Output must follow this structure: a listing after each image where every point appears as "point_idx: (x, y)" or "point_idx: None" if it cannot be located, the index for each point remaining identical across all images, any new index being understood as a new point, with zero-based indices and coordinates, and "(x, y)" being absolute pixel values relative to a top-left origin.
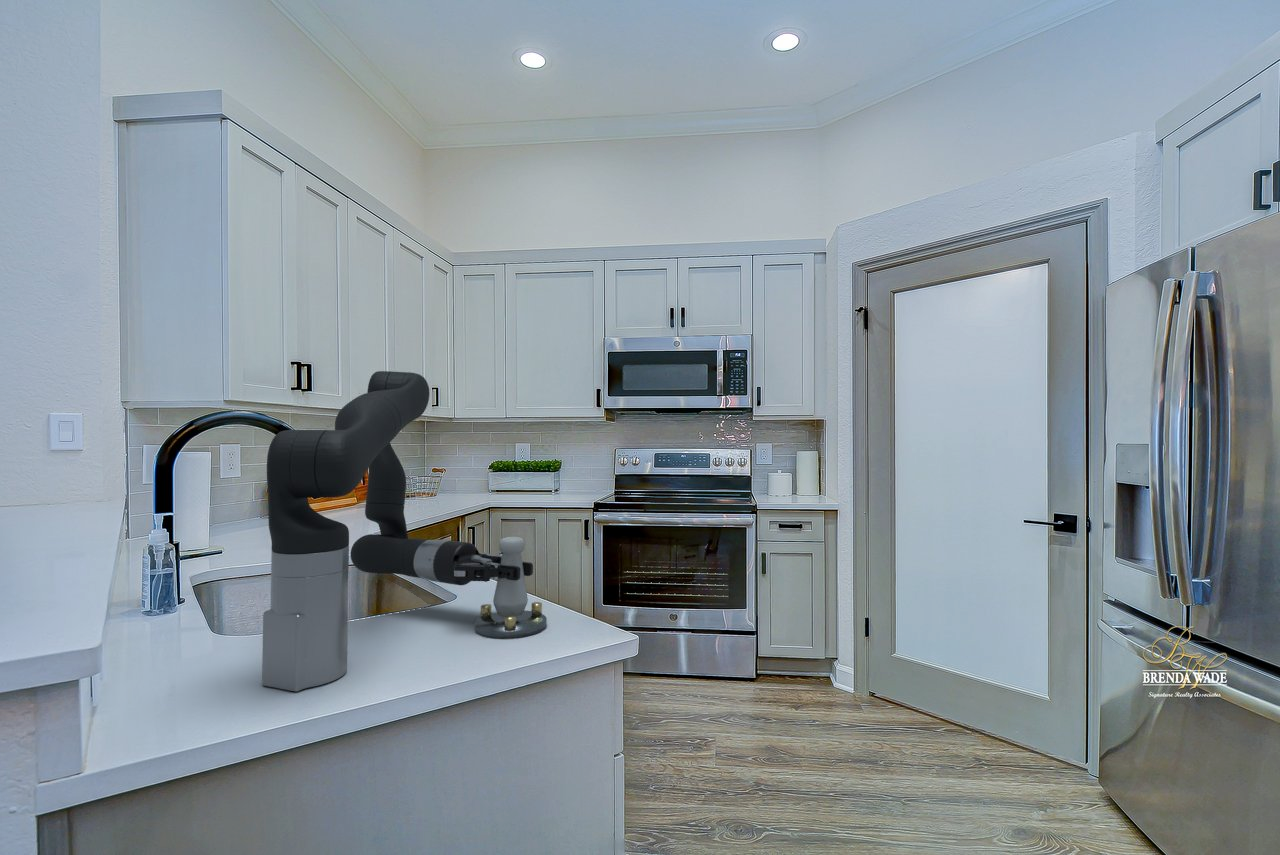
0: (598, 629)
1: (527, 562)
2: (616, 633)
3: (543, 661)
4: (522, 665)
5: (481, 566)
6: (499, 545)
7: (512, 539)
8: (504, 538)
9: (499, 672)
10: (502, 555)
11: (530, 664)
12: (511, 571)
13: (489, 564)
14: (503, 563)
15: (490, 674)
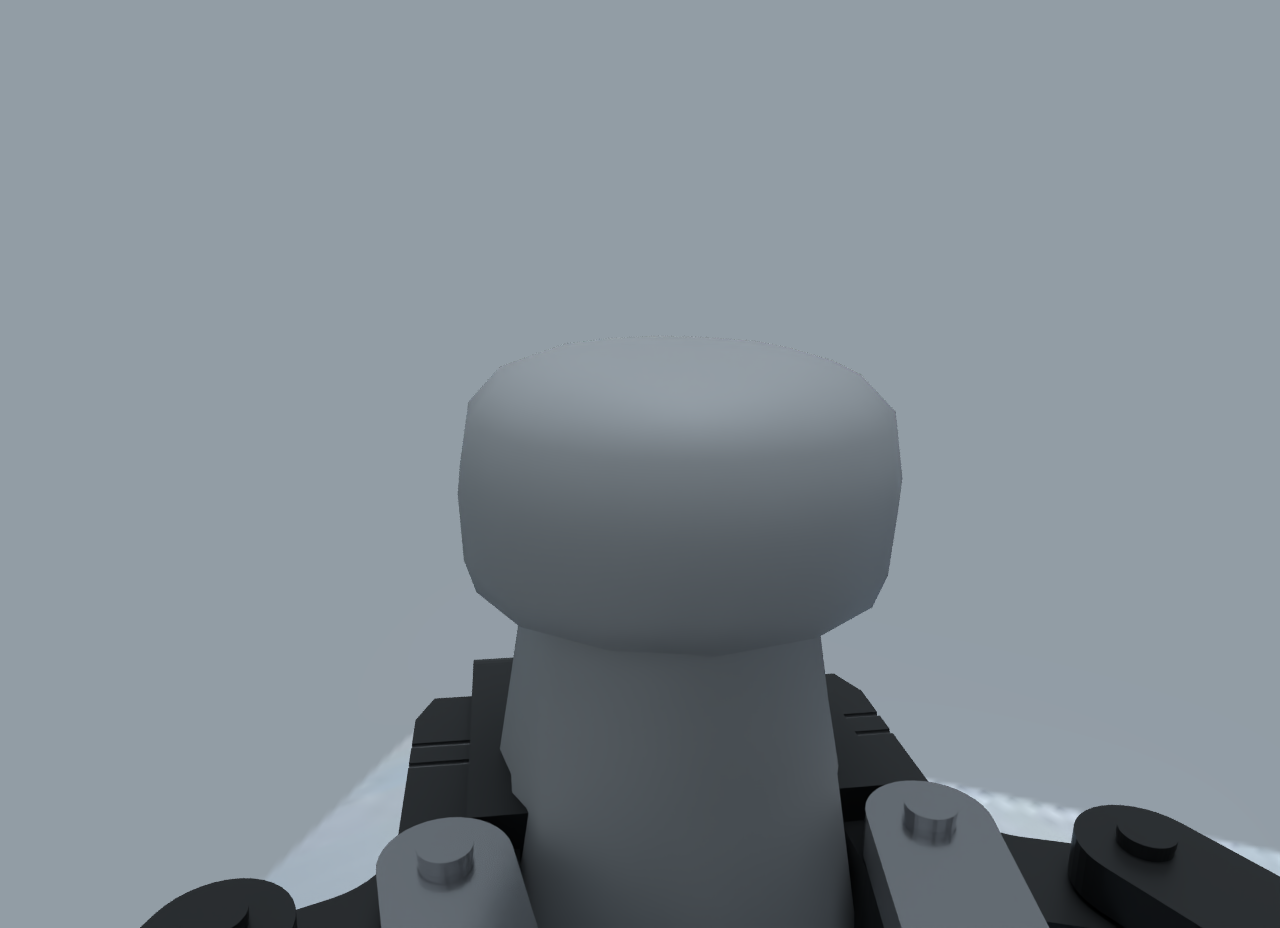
0: (373, 833)
1: (487, 683)
2: (407, 753)
3: (951, 787)
4: (1069, 819)
5: (1245, 877)
6: (896, 499)
7: (758, 342)
8: (799, 370)
9: (1217, 840)
10: (821, 667)
11: (1026, 804)
12: (849, 695)
13: (1028, 898)
14: (834, 747)
15: (1273, 852)
